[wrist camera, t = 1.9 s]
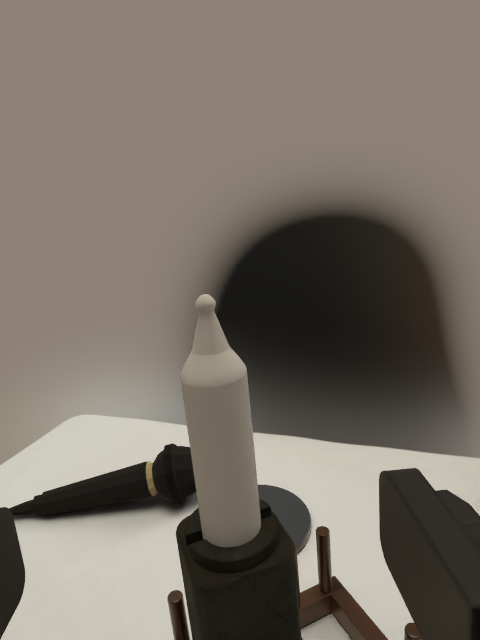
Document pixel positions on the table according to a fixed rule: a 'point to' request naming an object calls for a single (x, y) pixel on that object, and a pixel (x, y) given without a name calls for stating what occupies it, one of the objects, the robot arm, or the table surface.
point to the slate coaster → (288, 512)
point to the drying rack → (311, 602)
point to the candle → (230, 506)
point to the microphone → (121, 485)
